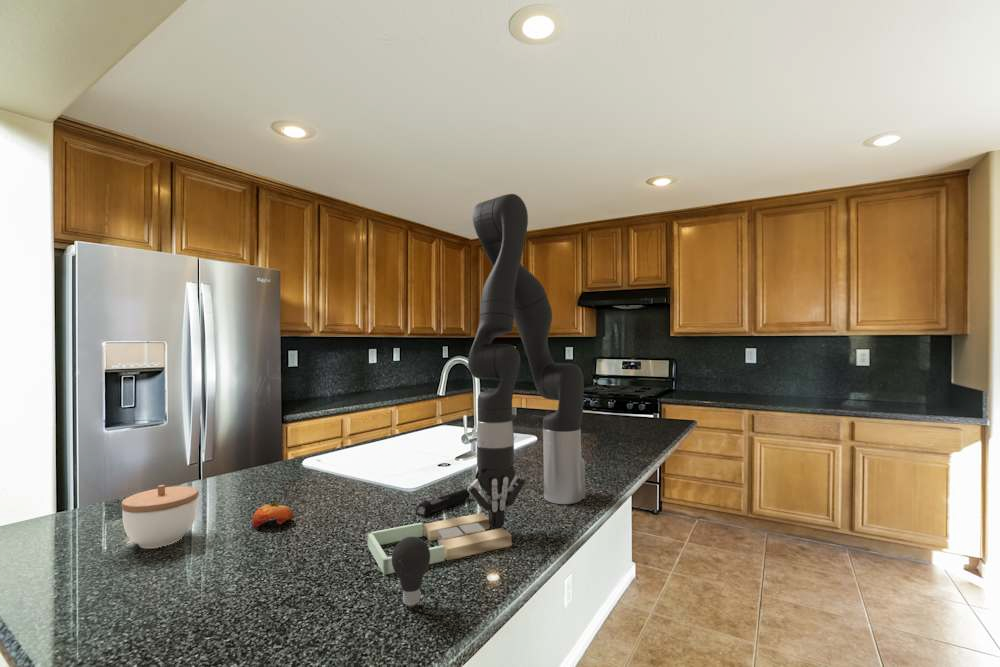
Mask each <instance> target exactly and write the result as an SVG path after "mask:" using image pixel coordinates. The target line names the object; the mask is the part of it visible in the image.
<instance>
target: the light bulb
mask: <svg viewBox="0 0 1000 667" xmlns="http://www.w3.org/2000/svg"><path fill="white" fill-rule="evenodd" d="M429 548H430V547H429V546H428V545H427V543H426V542H425V541H424V540H423V539H421V538H420V537H407V538H404V539H403V540H401V541H398V543H396V545H395V547H394V549H393V551H392V554H391V556H392V566H393V568H394V571H395V572H394V573H395V574H396V576H397V577H398V579H399V582H400V587H401V589H402V600H403V604H405V605H406V606H408V607H409V608H413V607H415V606H416V605H417V604H418V603H420V598H421V587H422V583H423V578H424V576H425V573H426V572H427V570H428V568H429V565H430V564H429V562H430V551H429Z"/></svg>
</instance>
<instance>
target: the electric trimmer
mask: <svg viewBox="0 0 1000 667" xmlns="http://www.w3.org/2000/svg"><path fill="white" fill-rule="evenodd" d="M470 496H471V495H470V494H469V492H468V491H467V490H466V488H463V489H460V490H457V491H454V492H452V493H451V492H450V493H447V494H446V495H442V496H439V497H438V498H435V499H431V500H424V501H423V502H422V503H419V505H418V506H417V507H416V510H415V515H416V516H418V517H421V518H428V517H429V516H430V514H433V513H436V512H438V511H441V510H444V509H445V508H452V507H451V506H453V507H455V506H457V505H459V504H461V503H462V502H464V501H466V500H468V499H469V498H470Z"/></svg>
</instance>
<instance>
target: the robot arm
mask: <svg viewBox="0 0 1000 667" xmlns="http://www.w3.org/2000/svg"><path fill="white" fill-rule="evenodd" d="M526 206H527V205H526V204H525V202H524V200H523V199H522V198H521V197H520V196H519V195H517V194H515V193H508V194H503V195H501V196H497V197H494V198H491V199H488V200H484V201H482V202H479V203H477V204H476V205H475V206H474V208H473V211H472V222H473V228H474V230H475V233H476V236H477V237H478V241H479V243H480V244H481V246H482V248H483V250H484V252H485V255H486V256H487V259H488V260H489V262H490V265H491V266H492V269H491V270H490V273H489V275H488V277H487V279H486V280H485V283H484V284H483V285H484V286H483V288H482V291H481V296H480V312H479V322H478V327H477V331H476V334H475V337H474V340H473V343H472V345H471V347H470V351H469V353H468V358H467V363H468V364H467V365H468V369H469V373H471V375H472V377H474V378H476V379H480V380H484V379H485V380H487V379H488V380H490V379H491V380H500V381H499V384H498V386H497V387H496V388H494V389H490V390H489V389H488V390H484V391H481V392H480V393H479V394H478V395H477V427H476V466H477V470H476V474H475V480H473V482H471V484H469V483H468V484H466V485H465V489H466V490H467V491H468V492H469V494H470V496H471V497H472V499H473V500H474V501H475V503H476V504H478V506H479V507H480V508H482V509H483V510H484V511H488V518H489V525H490V527H491V529H492V530H494V529H499V528H503V527H504V524H505V509H506V508H507V507H508V506H509V507H511V506H512V505H513V504H514V502H515V500H516V499H517V497H518V496H519V495H520V492H521V490H522V489H523V487H524V485H525V484H526V480H525V479H524V478H521V477H519V476H518V475H517V474H516V471H515V470H516V469H515V467H514V464H515V444H514V443H515V437H514V433H515V432H514V431H515V430H514V425H513V398H514V391H515V386H516V385H515V384H516V382H517V377H518V375H519V371H520V366H521V355H520V352H519V350H518V348H516V346H514V345H513V344H507V343H505V344H504V343H501V344H496V343H495V344H492V342H493V340H494V339H495V338H497V337H500V336H503V335H507V334H509V333H511V332H512V331H513V327H514V324H515V326H516V328H517V331H518V334H519V336H520V340H521V341H522V346H523V348H524V350H525V354H526V357H527V360H528V364H529V368H530V372H531V374H532V380H533V382H534V386H535V388H536V390H537V393H538V394H539V395H540V397H542V398H544V399H546V400H552V401H558V403H557V404H558V406H557V410H556V411H555V412H553V413H549V414H546V415H545V416H544V417H543V420H542V442H543V443H542V444H543V445H542V447H543V448H542V450H543V455H542V456H543V499H544V500H545V501H547V502H549V503H552V504H556V505H557V504H558V505H572V504H577V503H579V502H581V501H582V500H585V499H586V471H585V470H586V468H585V467H586V466H585V465H586V463H585V459H584V458H582V435H581V433H582V431H581V429H582V428H581V424H582V418H583V414H584V391H585V388H584V387H585V384H584V383H585V379H584V374H583V372H582V369H581V367H580V366H579V365H578V364H575V363H571V362H570V363H569V362H568V363H567V362H555V361H554V360H553V357H552V356H551V353H550V349H549V344H548V340H549V334H550V330H551V326H552V322H553V311H552V306H551V303H550V301H549V298H548V295H547V292H546V290H545V288H544V286H543V284H542V283H541V281H539V279H538V278H537V277H535V275H534V274H532V272H530V271H529V270H528V269H527V268H526V267H524V265H522V264H521V262H522V261H521V260H522V256H523V252H524V245H525V241H526V237H527V231H528V225H529V224H528V223H529V215H528V209H527V207H526ZM480 487H481V488H480ZM481 489H482V490H483V492H484V496H485V498H484V497H483V496H482V494H481V493H480V492H481Z"/></svg>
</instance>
